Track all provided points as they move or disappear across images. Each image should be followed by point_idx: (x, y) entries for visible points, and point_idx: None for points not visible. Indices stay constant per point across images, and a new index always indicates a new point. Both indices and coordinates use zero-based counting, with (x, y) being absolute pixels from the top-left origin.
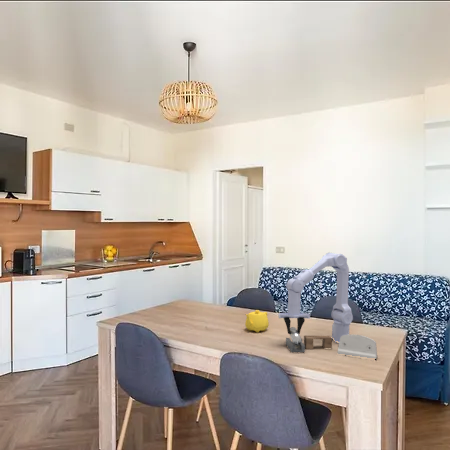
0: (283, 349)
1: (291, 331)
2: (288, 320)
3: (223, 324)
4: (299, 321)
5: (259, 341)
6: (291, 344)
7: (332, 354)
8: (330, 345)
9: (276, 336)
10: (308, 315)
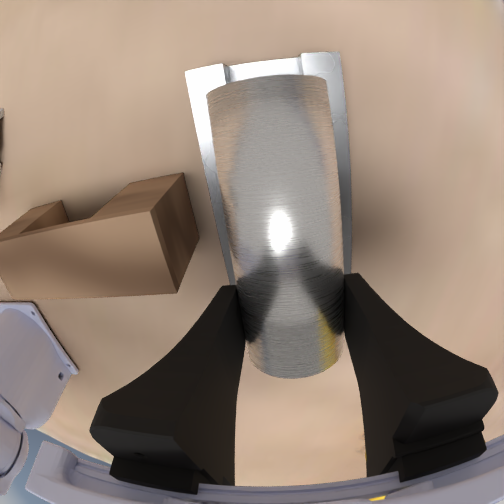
0: (383, 146)
1: (333, 287)
2: (462, 392)
3: (484, 426)
4: (196, 417)
5: (478, 299)
6: (337, 94)
7: (22, 104)
8: (22, 218)
9: (355, 384)
10: (41, 482)
